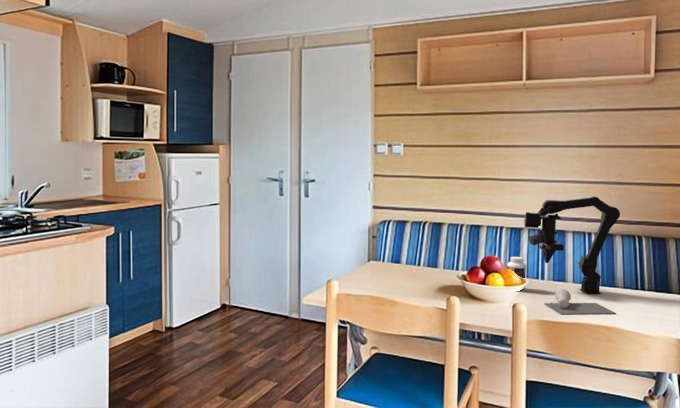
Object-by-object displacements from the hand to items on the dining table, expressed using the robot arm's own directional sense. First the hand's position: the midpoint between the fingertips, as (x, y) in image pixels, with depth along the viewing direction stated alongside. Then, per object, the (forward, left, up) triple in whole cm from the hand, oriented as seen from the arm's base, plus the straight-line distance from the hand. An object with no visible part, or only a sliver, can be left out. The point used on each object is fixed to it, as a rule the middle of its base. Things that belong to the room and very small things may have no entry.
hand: (546, 262), depth 246 cm
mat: (+1, +31, -12) cm, 33 cm away
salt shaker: (+2, +21, -9) cm, 23 cm away
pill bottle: (+14, 0, -12) cm, 19 cm away
